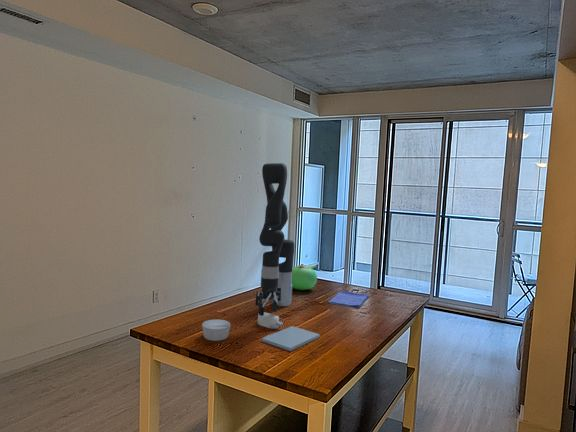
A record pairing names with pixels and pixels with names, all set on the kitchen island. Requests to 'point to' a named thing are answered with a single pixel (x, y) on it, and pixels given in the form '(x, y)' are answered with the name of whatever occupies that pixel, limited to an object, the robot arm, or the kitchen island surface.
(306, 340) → the cutting board
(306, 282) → the green apple
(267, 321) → the rounded plug
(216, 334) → the ramekin
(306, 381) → the kitchen island surface
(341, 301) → the dish towel
